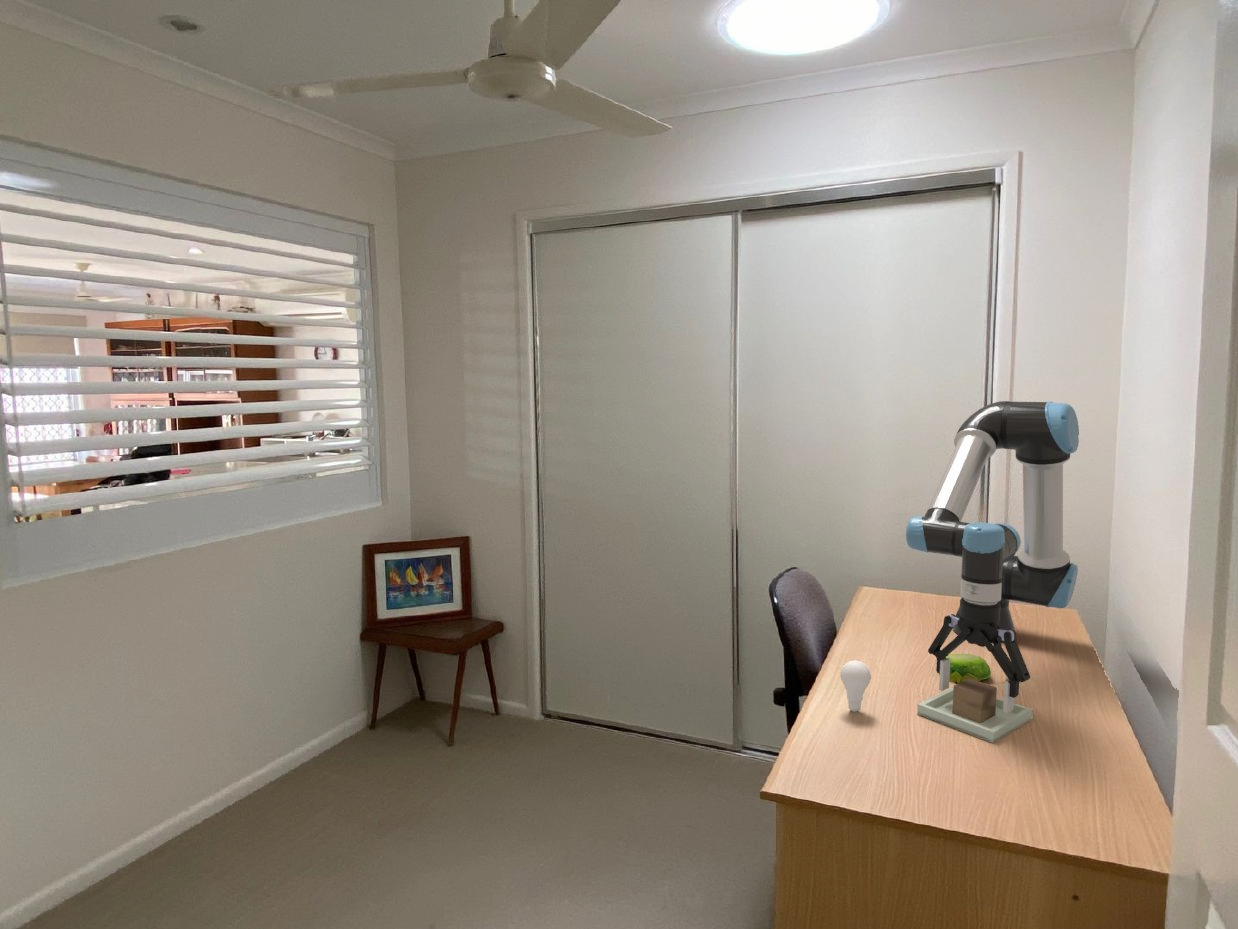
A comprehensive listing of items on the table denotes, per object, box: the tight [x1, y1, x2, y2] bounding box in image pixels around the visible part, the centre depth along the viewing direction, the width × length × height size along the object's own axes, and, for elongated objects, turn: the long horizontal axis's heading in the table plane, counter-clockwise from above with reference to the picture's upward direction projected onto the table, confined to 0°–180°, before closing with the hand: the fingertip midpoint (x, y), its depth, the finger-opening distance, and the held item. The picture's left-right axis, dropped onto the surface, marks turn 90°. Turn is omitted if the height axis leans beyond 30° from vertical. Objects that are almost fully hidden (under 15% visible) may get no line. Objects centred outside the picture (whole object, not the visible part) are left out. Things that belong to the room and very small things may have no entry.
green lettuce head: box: [938, 653, 992, 684], centre depth 182 cm, size 12×11×5 cm
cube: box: [952, 678, 998, 724], centre depth 161 cm, size 6×6×6 cm
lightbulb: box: [839, 660, 872, 713], centre depth 163 cm, size 6×6×11 cm
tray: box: [916, 686, 1034, 744], centre depth 161 cm, size 16×16×2 cm
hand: (975, 699), depth 161 cm, fingers open, 13 cm apart
